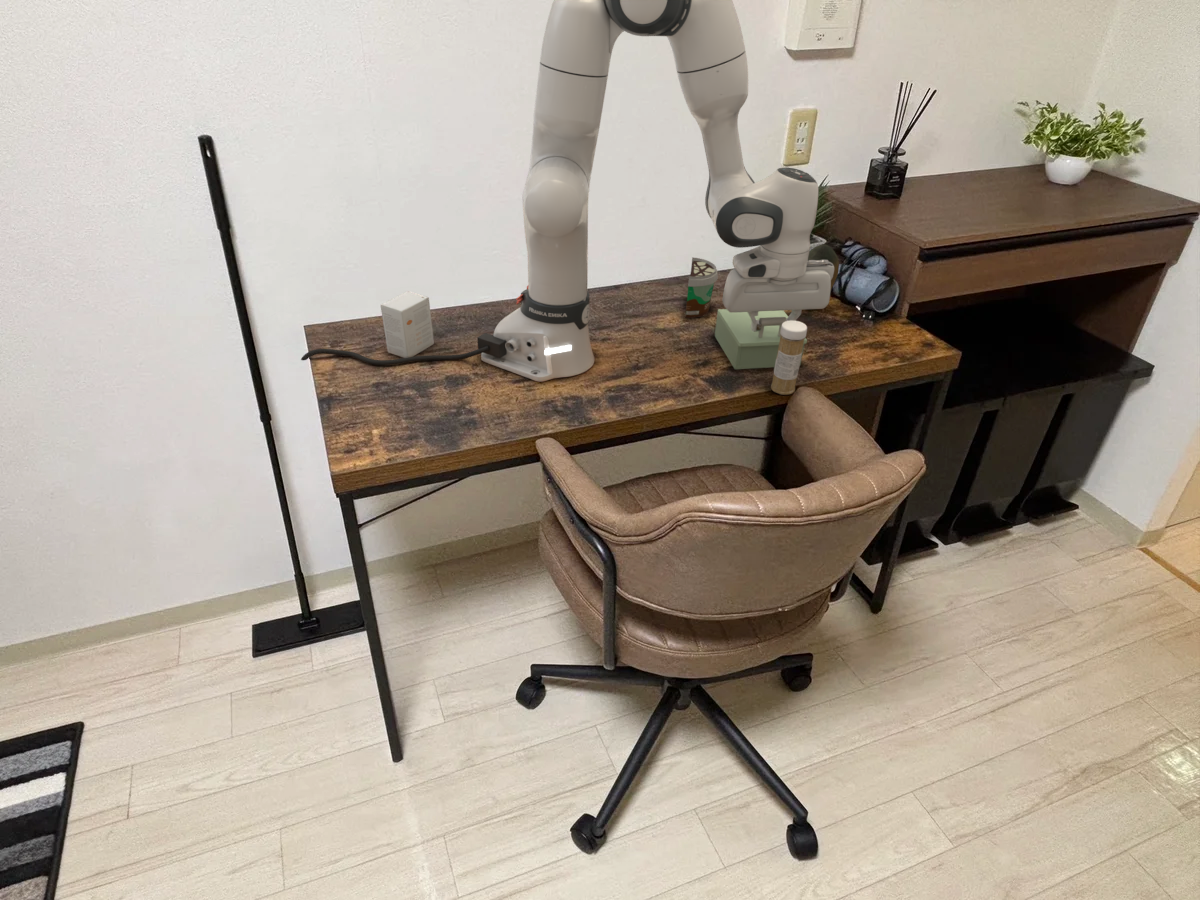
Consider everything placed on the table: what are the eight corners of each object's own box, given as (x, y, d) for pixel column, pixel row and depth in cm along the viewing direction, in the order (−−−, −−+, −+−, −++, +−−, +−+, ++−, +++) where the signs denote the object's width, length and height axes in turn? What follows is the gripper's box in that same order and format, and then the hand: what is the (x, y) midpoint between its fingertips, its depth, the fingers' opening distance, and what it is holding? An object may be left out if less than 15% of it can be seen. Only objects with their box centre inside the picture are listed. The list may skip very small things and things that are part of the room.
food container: (712, 323, 169) (718, 279, 163) (684, 320, 169) (688, 277, 164) (714, 300, 179) (719, 258, 173) (688, 297, 179) (692, 256, 174)
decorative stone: (798, 315, 173) (810, 250, 164) (786, 304, 178) (797, 241, 169) (837, 312, 175) (851, 248, 166) (824, 301, 180) (837, 238, 171)
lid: (806, 343, 150) (811, 321, 147) (739, 347, 148) (742, 324, 145) (779, 310, 162) (783, 288, 159) (717, 312, 160) (719, 291, 158)
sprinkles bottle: (781, 381, 148) (792, 317, 140) (799, 391, 145) (813, 326, 138) (765, 388, 146) (776, 323, 138) (784, 398, 143) (796, 332, 135)
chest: (800, 365, 153) (805, 341, 150) (734, 369, 152) (738, 345, 149) (775, 333, 165) (779, 310, 162) (714, 336, 163) (717, 313, 160)
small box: (414, 337, 159) (408, 289, 153) (435, 344, 157) (429, 296, 151) (386, 352, 154) (379, 303, 148) (407, 360, 151) (401, 310, 145)
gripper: (829, 253, 145) (815, 320, 153) (724, 256, 143) (716, 324, 150) (843, 265, 140) (828, 334, 148) (734, 269, 137) (725, 339, 145)
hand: (771, 329), depth 149 cm, fingers closed on lid, 5 cm apart
